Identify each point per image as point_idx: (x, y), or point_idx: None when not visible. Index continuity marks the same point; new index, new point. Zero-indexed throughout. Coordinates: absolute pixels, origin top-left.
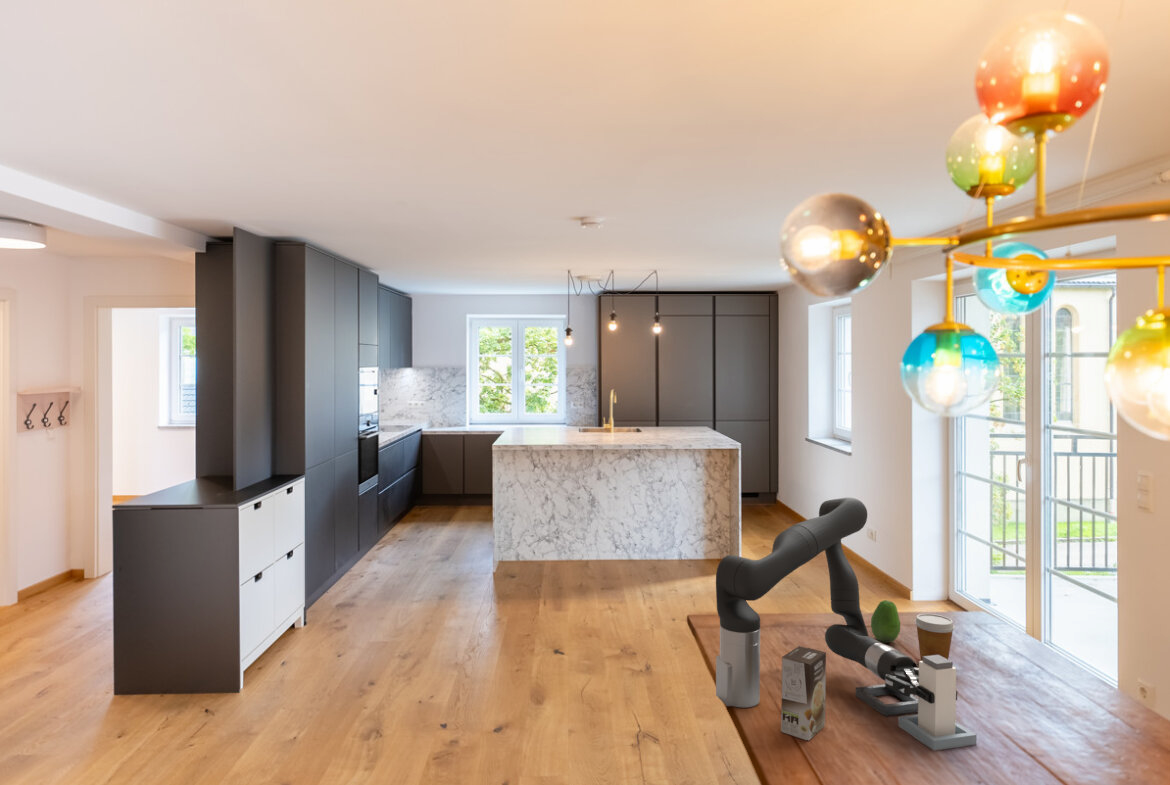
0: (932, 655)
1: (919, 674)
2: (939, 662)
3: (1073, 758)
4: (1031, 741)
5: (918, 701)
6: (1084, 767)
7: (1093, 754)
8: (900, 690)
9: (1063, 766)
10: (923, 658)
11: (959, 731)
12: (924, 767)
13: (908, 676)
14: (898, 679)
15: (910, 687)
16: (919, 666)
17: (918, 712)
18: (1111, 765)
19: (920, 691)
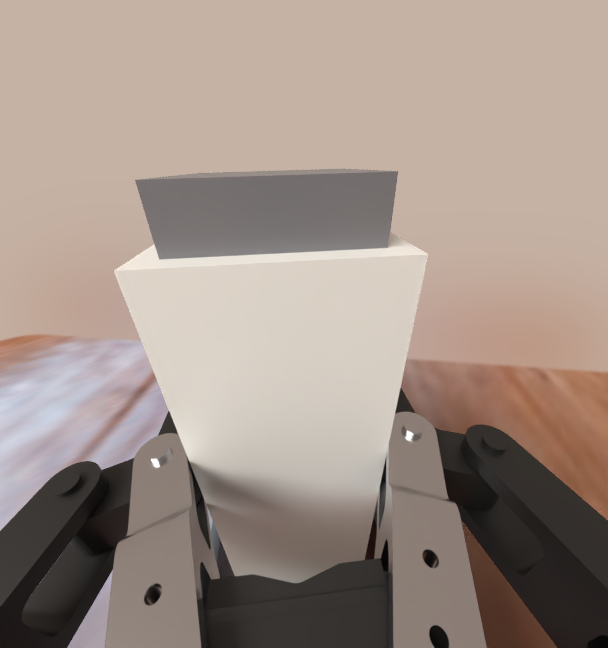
0: (243, 176)
1: (397, 374)
2: (305, 170)
3: (72, 375)
4: (42, 444)
5: (372, 516)
6: (101, 354)
7: (8, 382)
8: (528, 542)
9: (133, 359)
10: (390, 193)
11: None
12: (422, 379)
13: (469, 587)
14: (603, 562)
15: (462, 434)
16: (411, 306)
17: (365, 546)
18: (46, 355)
19: (402, 392)
